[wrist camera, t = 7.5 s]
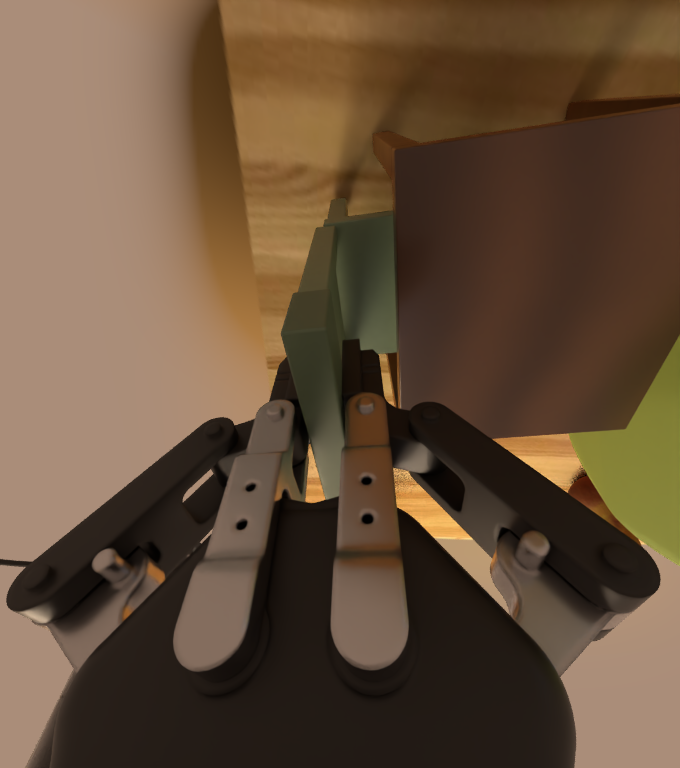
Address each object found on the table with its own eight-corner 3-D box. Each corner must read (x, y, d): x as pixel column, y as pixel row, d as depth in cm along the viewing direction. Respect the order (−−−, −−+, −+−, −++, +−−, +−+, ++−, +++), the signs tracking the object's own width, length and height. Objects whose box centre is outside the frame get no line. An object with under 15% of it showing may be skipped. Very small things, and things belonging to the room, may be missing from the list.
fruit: (552, 497, 43) (610, 604, 33) (566, 468, 39) (635, 580, 30) (599, 494, 42) (671, 603, 33) (617, 466, 39) (704, 578, 29)
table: (383, 337, 29) (400, 445, 19) (372, 133, 20) (394, 149, 11) (531, 322, 27) (626, 429, 18) (587, 99, 19) (824, 84, 9)
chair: (337, 311, 27) (327, 507, 13) (321, 199, 22) (279, 333, 8) (446, 299, 26) (551, 495, 13) (455, 180, 21) (643, 294, 8)
